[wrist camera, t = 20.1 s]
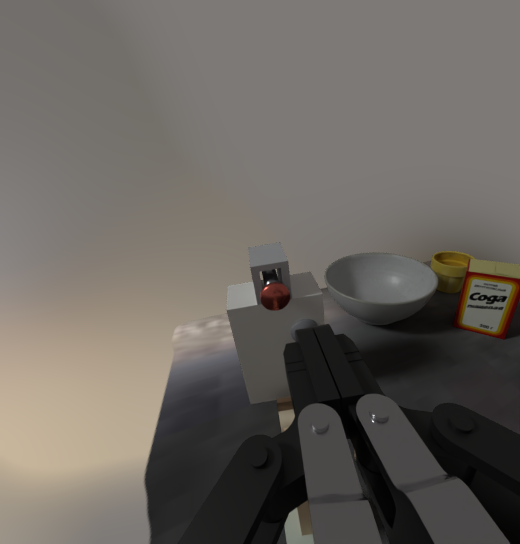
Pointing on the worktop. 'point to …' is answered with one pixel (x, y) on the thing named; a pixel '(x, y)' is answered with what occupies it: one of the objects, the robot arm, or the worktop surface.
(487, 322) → the baking soda box
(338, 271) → the decorative bowl
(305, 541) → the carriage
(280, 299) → the ball
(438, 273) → the plant pot
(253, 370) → the grey tall flat block
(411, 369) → the worktop surface
